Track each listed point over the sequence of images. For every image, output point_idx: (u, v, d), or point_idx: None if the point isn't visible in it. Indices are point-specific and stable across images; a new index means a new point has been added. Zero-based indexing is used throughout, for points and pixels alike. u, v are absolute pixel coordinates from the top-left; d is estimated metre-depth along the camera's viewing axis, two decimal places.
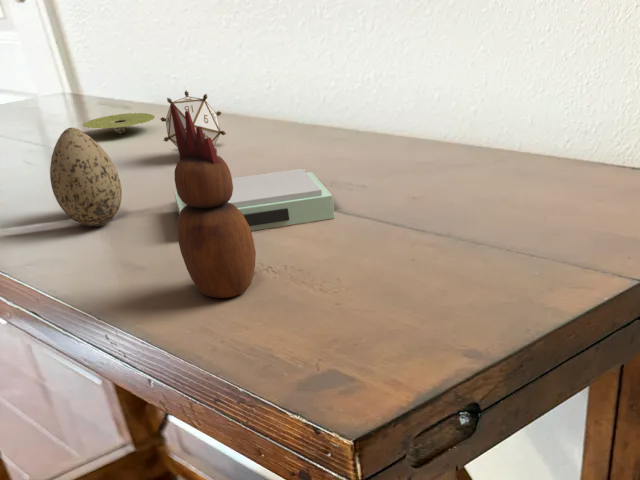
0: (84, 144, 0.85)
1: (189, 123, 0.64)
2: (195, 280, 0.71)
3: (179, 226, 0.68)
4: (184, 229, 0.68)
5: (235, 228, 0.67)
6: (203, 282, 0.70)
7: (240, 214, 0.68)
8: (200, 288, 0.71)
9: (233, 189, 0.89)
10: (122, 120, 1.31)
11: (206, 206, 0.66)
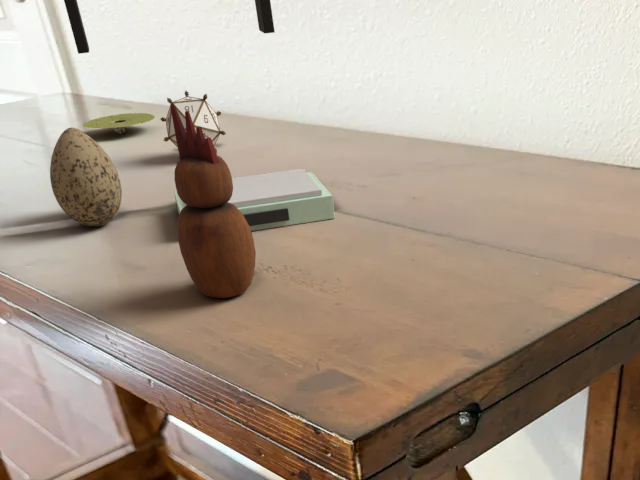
0: (84, 144, 0.85)
1: (189, 123, 0.64)
2: (195, 280, 0.71)
3: (179, 226, 0.68)
4: (184, 229, 0.68)
5: (235, 228, 0.67)
6: (203, 282, 0.70)
7: (240, 214, 0.68)
8: (200, 288, 0.71)
9: (233, 189, 0.89)
10: (122, 120, 1.31)
11: (206, 206, 0.66)
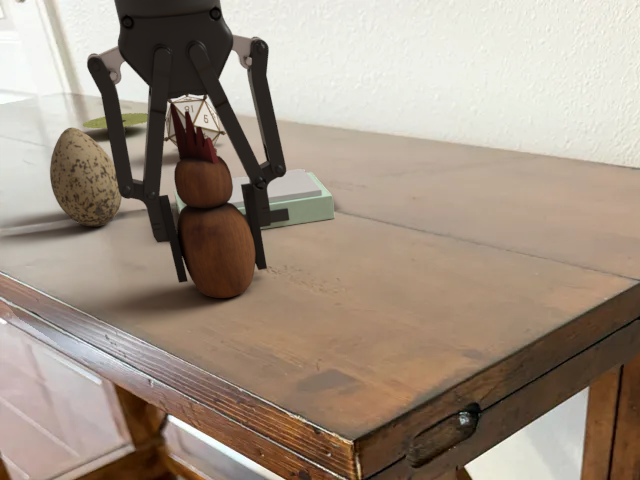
0: (84, 144, 0.85)
1: (189, 123, 0.64)
2: (194, 280, 0.71)
3: (179, 226, 0.68)
4: (184, 229, 0.68)
5: (234, 228, 0.67)
6: (203, 282, 0.70)
7: (240, 214, 0.68)
8: (200, 288, 0.71)
9: (233, 189, 0.89)
10: None
11: (206, 206, 0.66)
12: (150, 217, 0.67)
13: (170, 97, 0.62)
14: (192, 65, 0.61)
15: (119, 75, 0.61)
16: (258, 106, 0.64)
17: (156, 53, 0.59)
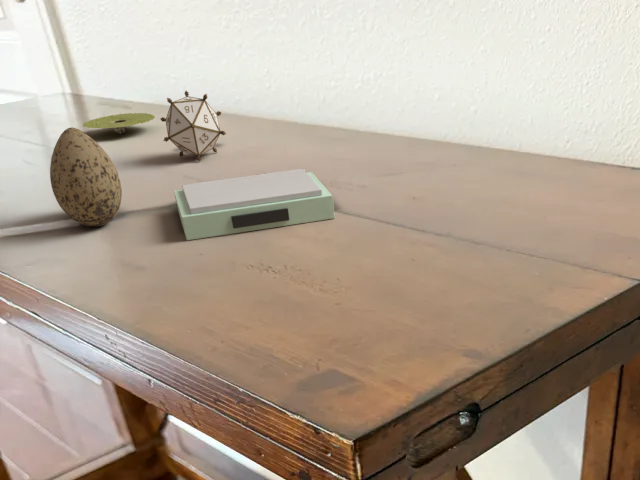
0: (84, 144, 0.85)
1: None
2: None
3: None
4: None
5: None
6: None
7: None
8: None
9: (233, 189, 0.89)
10: (122, 120, 1.31)
11: None
12: None
13: None
14: None
15: None
16: None
17: None
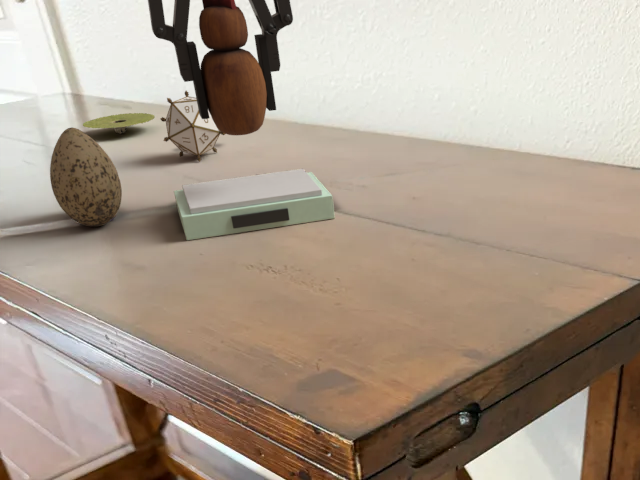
0: (84, 144, 0.85)
1: None
2: (215, 118, 0.83)
3: (202, 68, 0.81)
4: (207, 70, 0.80)
5: (249, 67, 0.80)
6: (222, 118, 0.82)
7: (254, 58, 0.81)
8: (220, 125, 0.84)
9: (233, 189, 0.89)
10: (122, 120, 1.31)
11: (226, 48, 0.79)
12: (178, 58, 0.80)
13: None
14: None
15: None
16: None
17: None
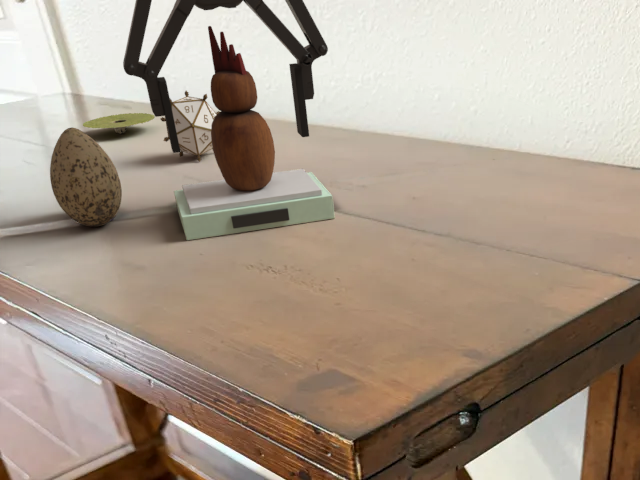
0: (84, 144, 0.85)
1: (223, 41, 0.81)
2: (225, 175, 0.87)
3: (213, 129, 0.84)
4: (217, 131, 0.84)
5: (259, 129, 0.83)
6: (232, 176, 0.86)
7: (263, 119, 0.84)
8: (229, 182, 0.87)
9: (233, 189, 0.89)
10: (122, 120, 1.31)
11: (236, 111, 0.83)
12: (149, 93, 0.81)
13: (206, 8, 0.78)
14: None
15: None
16: (290, 3, 0.79)
17: None
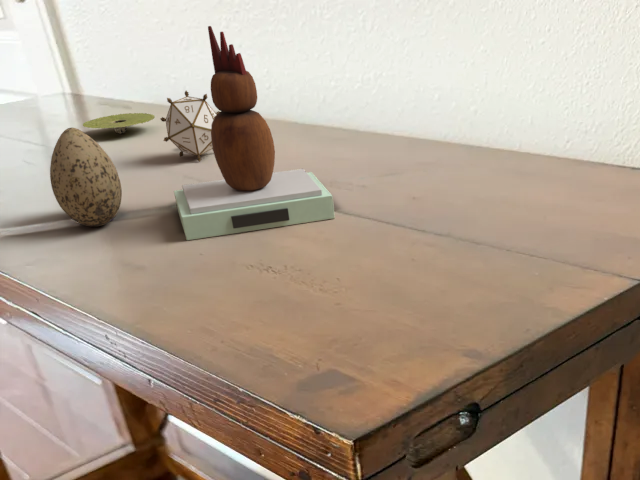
0: (84, 144, 0.85)
1: (223, 42, 0.81)
2: (225, 175, 0.87)
3: (213, 129, 0.84)
4: (217, 131, 0.84)
5: (259, 129, 0.83)
6: (232, 176, 0.86)
7: (263, 119, 0.84)
8: (229, 182, 0.87)
9: (233, 189, 0.89)
10: (122, 120, 1.31)
11: (236, 111, 0.83)
12: None
13: None
14: None
15: None
16: None
17: None
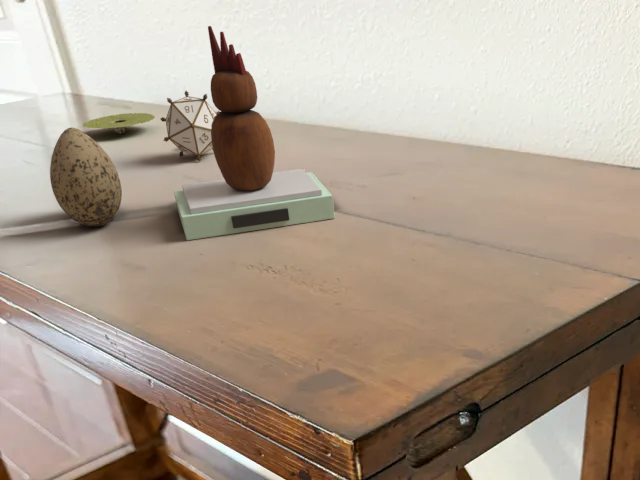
0: (84, 144, 0.85)
1: (223, 42, 0.81)
2: (225, 175, 0.87)
3: (213, 129, 0.84)
4: (217, 131, 0.84)
5: (259, 129, 0.83)
6: (232, 176, 0.86)
7: (263, 119, 0.84)
8: (229, 182, 0.87)
9: (233, 189, 0.89)
10: (122, 120, 1.31)
11: (236, 111, 0.83)
12: None
13: None
14: None
15: None
16: None
17: None
